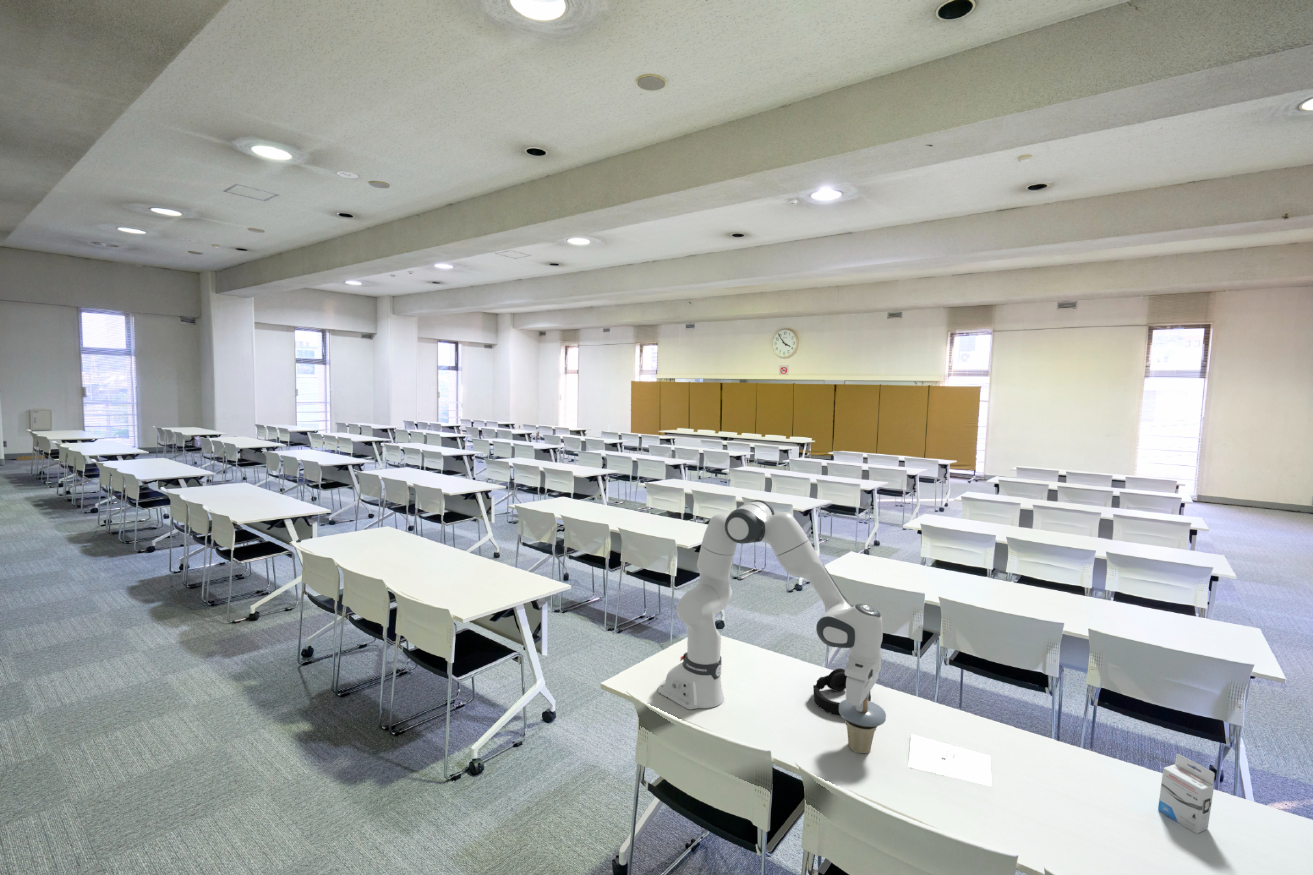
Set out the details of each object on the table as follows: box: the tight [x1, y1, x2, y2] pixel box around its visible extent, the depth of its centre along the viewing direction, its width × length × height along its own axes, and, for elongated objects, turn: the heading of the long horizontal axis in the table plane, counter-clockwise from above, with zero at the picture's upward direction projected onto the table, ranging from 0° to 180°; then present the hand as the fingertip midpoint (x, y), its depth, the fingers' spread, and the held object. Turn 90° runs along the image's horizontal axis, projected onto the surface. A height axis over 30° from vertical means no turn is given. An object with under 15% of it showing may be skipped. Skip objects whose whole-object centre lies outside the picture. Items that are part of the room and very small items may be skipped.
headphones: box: [812, 668, 872, 717], centre depth 200 cm, size 18×8×20 cm
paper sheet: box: [907, 733, 993, 787], centre depth 165 cm, size 24×29×1 cm
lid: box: [839, 698, 887, 727], centre depth 174 cm, size 13×13×4 cm
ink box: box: [1157, 753, 1216, 834], centre depth 148 cm, size 9×5×15 cm, turn 21°
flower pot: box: [844, 719, 879, 754], centre depth 175 cm, size 9×9×9 cm
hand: (862, 706), depth 174 cm, fingers closed on lid, 3 cm apart
